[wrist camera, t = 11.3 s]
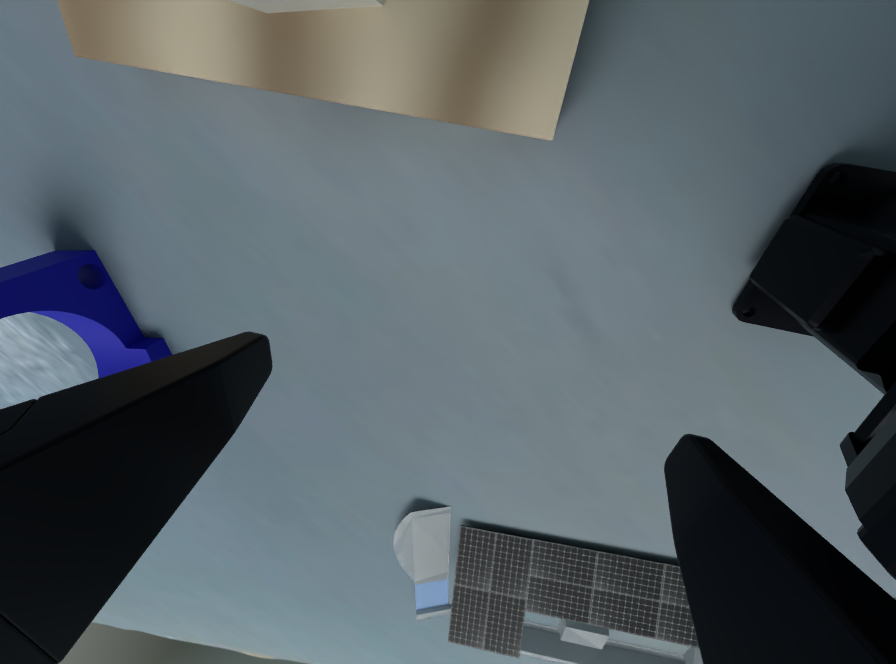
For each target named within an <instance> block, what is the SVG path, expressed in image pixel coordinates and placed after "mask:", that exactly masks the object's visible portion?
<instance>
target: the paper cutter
mask: <svg viewBox="0 0 896 664" xmlns="http://www.w3.org/2000/svg"><path fill="white" fill-rule="evenodd" d="M450 516H451V507H444V508H437V509H430V510H423V511H416V512H411V513H409V514H408V515H407V516H406V517H405V518H404V519H403V520H402V521H401V522H400V524H399V526H398V527H397V529H396V532H395V535H394V550H395V554H396V557H397V559H398V561H399V563H400V565H401V566H402V568H403V569H404V571H405V572H406V573H407V574H408V575H409V577H410V578H411V579H412V580H413V581H415V593H416V611H417V620H421V619H427V618H432V617H437V616H443V615H448V614H451V617H450V626H449V635H448V642H451V643H456V644H460V645H464V646H469V647H473V648H477V649H481V650H486V651H490V652H494V653H498V654H503V655H507V656H511V657H516V658H520V654H522V655H526V656H531V657H535V658H539V659H544V660H548V661H552V662H556V663H561V664H703V662H702V657H701V653H700V649H699V645H698V641H697V637H696V633H695V628H694V624H693V620H692V616H691V612H690V608H689V604H688V599H687V595H686V591H685V587H684V583H683V579H682V575H681V571H680V566H677V565H671V564H666V563H661V562H655V561H650V560H645V559H639V558H634V557H629V556H623V555H618V554H613V553H607V552H602V551H597V550H591V549H586V548H581V547H575V546H570V545H565V544H559V543H554V542H549V541H543V540H538V539H533V538H527V537H522V536H517V535H511V534H506V533H501V532H495V531H490V530H485V529H479V528H474V527H469V526H463V525H461V526H460V535H459V544H458V553H457V562H456V571H455V581H454V590H453V599H452V605H448V578H449V547H450ZM525 611H529V612H533V613H538V614H542V615H547V616H552V617H556V618H561V622H560V624H559V625H560V629H557V628H552V627H548V626H543V625H539V624H534V623H529V622H525V621H524V616H525ZM608 629H612V630H617V631H621V632H626V633H631V634H635V635H640V636H645V637H649V638H654V639H659V640H663V641H668V642H672V643H677V644H682V645H686V646H691V648H690V649H689V650H688V651H687V652H686V654H685V655H684V656H680V655H675V654H671V653H666V652H662V651H657V650H652V649H648V648H643V647H639V646H634V645H630V644H625V643H621V642H616V641H611V640H607V639H608V638H609V631H608Z"/></svg>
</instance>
